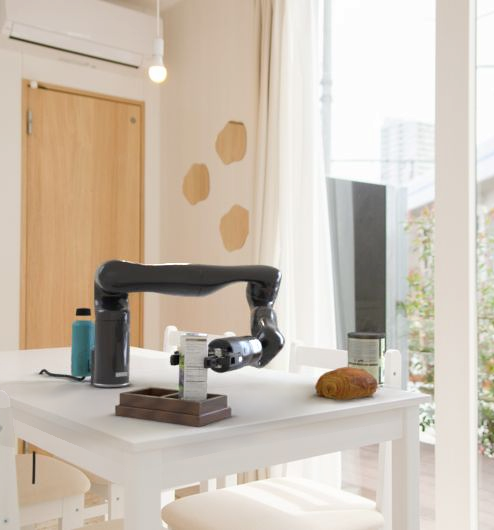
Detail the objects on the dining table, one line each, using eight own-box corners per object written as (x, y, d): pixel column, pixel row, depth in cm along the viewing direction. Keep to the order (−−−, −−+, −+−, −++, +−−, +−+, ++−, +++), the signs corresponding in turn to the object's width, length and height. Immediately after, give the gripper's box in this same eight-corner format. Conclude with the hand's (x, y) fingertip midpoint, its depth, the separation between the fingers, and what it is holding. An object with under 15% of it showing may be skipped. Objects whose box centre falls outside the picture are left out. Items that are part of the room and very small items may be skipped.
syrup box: (179, 402, 145) (179, 332, 146) (207, 402, 146) (207, 332, 146) (178, 407, 140) (178, 335, 140) (207, 407, 140) (208, 335, 140)
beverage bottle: (88, 382, 188) (89, 308, 188) (65, 381, 189) (67, 308, 189) (98, 379, 194) (100, 307, 194) (76, 378, 195) (77, 307, 196)
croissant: (386, 405, 172) (390, 373, 173) (341, 402, 163) (346, 368, 163) (345, 395, 184) (349, 365, 184) (301, 392, 174) (305, 360, 175)
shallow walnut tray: (114, 415, 145) (115, 393, 145) (150, 406, 155) (150, 385, 155) (199, 426, 135) (199, 403, 135) (231, 416, 145) (231, 394, 145)
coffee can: (342, 381, 196) (343, 331, 196) (378, 381, 198) (378, 331, 198) (352, 387, 186) (353, 334, 186) (389, 387, 187) (390, 334, 188)
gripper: (257, 373, 152) (217, 383, 138) (202, 368, 159) (159, 377, 144) (257, 338, 152) (218, 345, 138) (202, 335, 159) (159, 341, 145)
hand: (188, 361), depth 141 cm, fingers closed on syrup box, 7 cm apart
